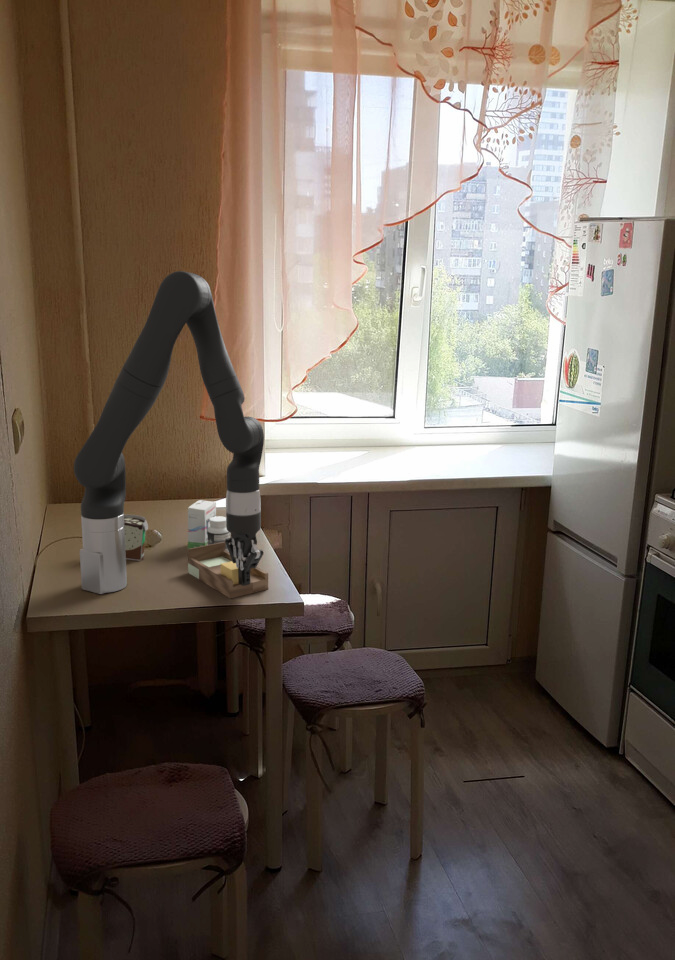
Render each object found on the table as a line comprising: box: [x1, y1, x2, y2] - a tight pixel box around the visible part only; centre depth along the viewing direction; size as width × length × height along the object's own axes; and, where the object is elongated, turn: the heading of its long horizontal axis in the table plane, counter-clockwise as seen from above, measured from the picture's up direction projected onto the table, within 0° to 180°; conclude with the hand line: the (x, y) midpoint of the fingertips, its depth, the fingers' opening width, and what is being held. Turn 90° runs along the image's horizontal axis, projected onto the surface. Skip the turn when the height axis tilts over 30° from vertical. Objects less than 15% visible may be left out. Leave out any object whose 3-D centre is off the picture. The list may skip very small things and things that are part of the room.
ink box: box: [187, 499, 217, 550], centre depth 217 cm, size 9×5×12 cm, turn 168°
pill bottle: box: [207, 515, 231, 552], centre depth 211 cm, size 6×6×10 cm
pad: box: [187, 556, 231, 580], centre depth 200 cm, size 6×9×2 cm, turn 127°
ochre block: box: [221, 561, 239, 585], centre depth 188 cm, size 5×4×4 cm
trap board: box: [187, 542, 269, 599], centre depth 194 cm, size 20×10×6 cm, turn 37°
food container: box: [124, 514, 149, 562], centre depth 210 cm, size 12×6×10 cm, turn 74°
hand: (244, 584), depth 184 cm, fingers closed
